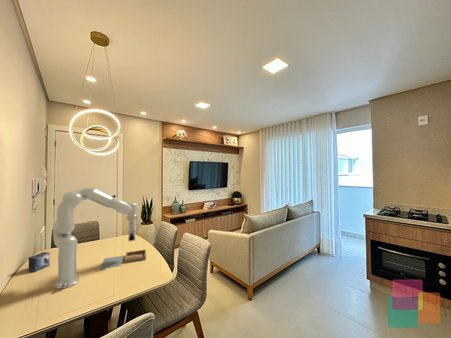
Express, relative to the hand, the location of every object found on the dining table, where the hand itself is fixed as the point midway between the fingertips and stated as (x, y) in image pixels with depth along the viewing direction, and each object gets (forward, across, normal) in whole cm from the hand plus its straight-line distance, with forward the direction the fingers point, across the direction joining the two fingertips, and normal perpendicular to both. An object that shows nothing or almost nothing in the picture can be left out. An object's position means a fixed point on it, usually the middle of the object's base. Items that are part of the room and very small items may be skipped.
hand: (131, 238), depth 165 cm
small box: (+18, +9, +65) cm, 68 cm away
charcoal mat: (+17, -2, +14) cm, 22 cm away
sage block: (+1, 0, 0) cm, 1 cm away
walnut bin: (+17, 0, -3) cm, 17 cm away
